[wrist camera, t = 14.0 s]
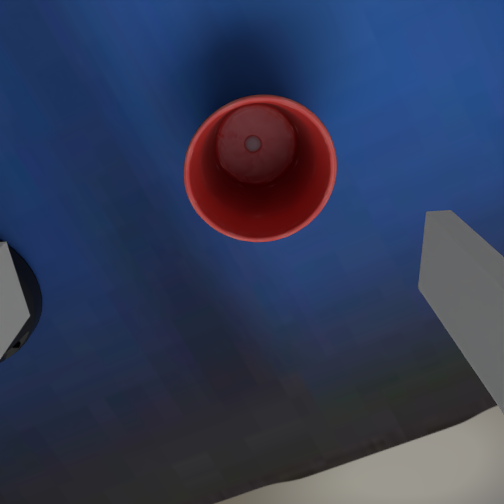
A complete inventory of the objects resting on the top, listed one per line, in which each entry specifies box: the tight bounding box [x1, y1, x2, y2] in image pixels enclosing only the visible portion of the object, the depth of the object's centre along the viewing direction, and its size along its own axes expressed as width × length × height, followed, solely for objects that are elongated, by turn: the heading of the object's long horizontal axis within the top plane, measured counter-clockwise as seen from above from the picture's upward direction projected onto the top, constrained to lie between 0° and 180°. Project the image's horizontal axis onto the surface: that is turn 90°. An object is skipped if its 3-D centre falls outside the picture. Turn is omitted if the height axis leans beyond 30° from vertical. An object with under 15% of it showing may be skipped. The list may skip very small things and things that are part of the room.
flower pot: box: [184, 94, 337, 242], centre depth 38 cm, size 11×11×10 cm
